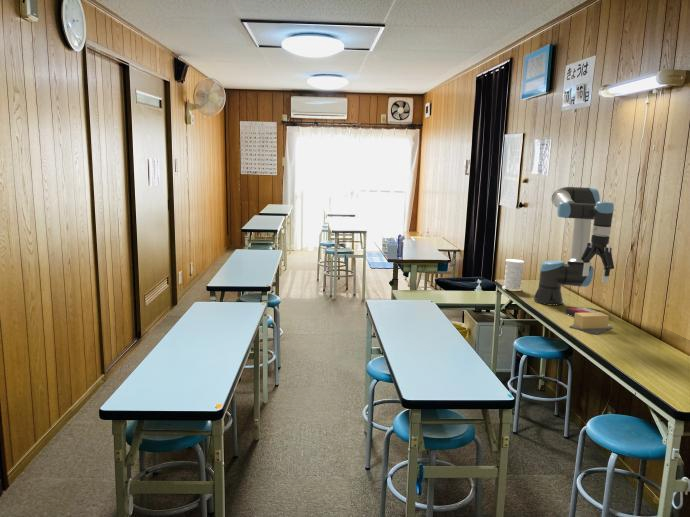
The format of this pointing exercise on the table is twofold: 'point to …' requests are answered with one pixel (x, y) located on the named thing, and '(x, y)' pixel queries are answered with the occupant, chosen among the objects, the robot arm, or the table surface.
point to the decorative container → (513, 274)
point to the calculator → (578, 310)
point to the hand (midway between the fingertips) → (594, 279)
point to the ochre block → (591, 320)
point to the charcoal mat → (594, 330)
